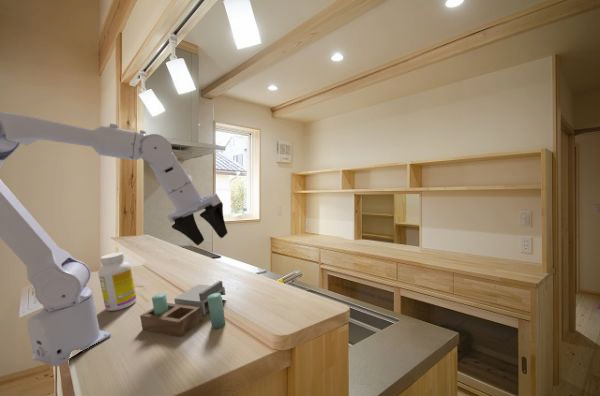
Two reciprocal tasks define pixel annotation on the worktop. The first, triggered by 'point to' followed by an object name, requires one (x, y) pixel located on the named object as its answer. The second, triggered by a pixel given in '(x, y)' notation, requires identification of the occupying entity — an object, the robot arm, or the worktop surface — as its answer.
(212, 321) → the pin loose
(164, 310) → the pin seated
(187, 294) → the housing
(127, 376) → the worktop surface
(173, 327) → the socket strip
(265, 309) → the worktop surface
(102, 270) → the supplement bottle
